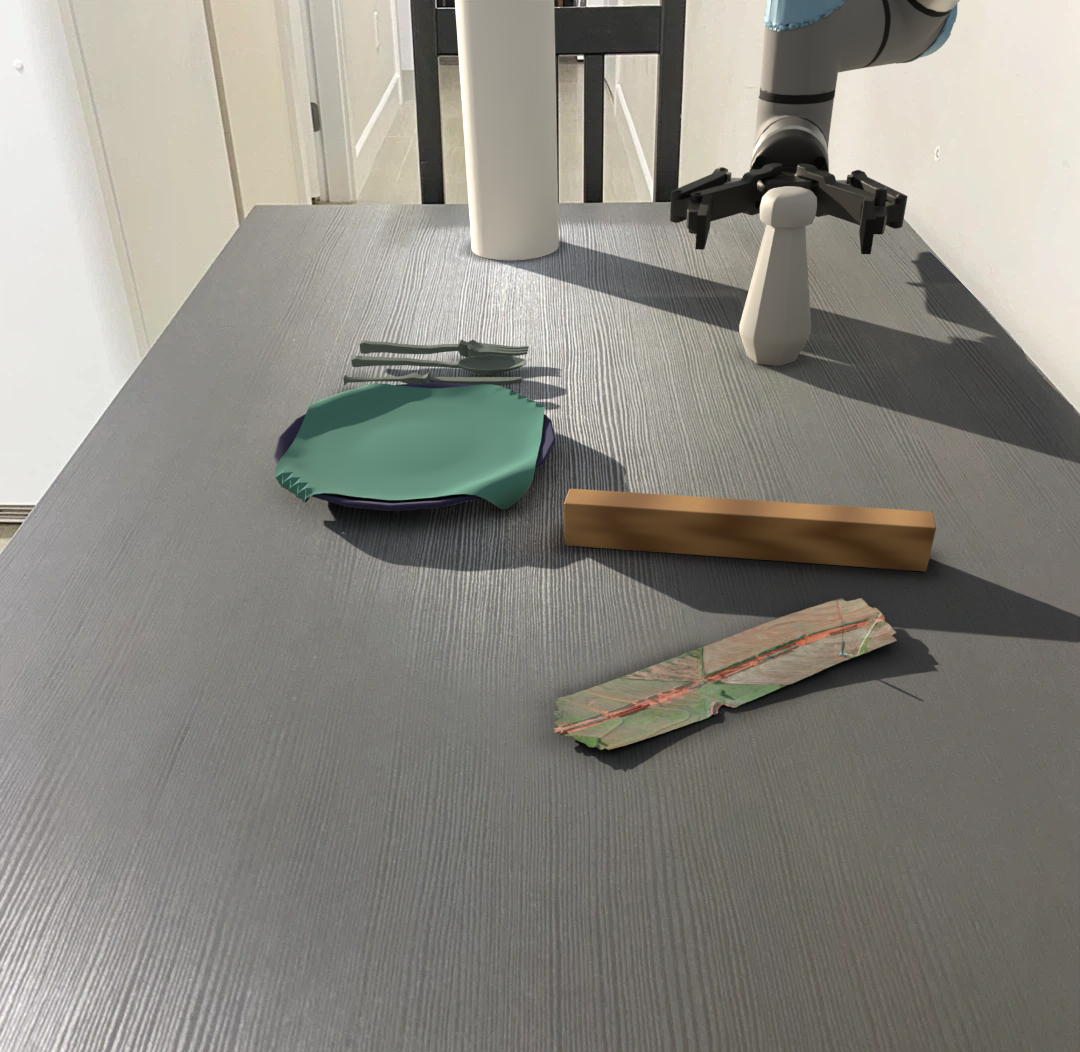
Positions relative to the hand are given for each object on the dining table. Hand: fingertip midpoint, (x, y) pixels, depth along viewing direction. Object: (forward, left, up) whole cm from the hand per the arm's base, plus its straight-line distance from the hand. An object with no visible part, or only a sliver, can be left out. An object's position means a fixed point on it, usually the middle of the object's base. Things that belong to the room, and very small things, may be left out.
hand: (783, 234), depth 90 cm
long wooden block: (+1, +37, -8) cm, 38 cm away
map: (+1, +50, -9) cm, 50 cm away
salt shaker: (0, +5, -9) cm, 10 cm away
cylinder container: (+28, -23, -9) cm, 37 cm away
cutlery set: (+25, +23, -9) cm, 35 cm away
